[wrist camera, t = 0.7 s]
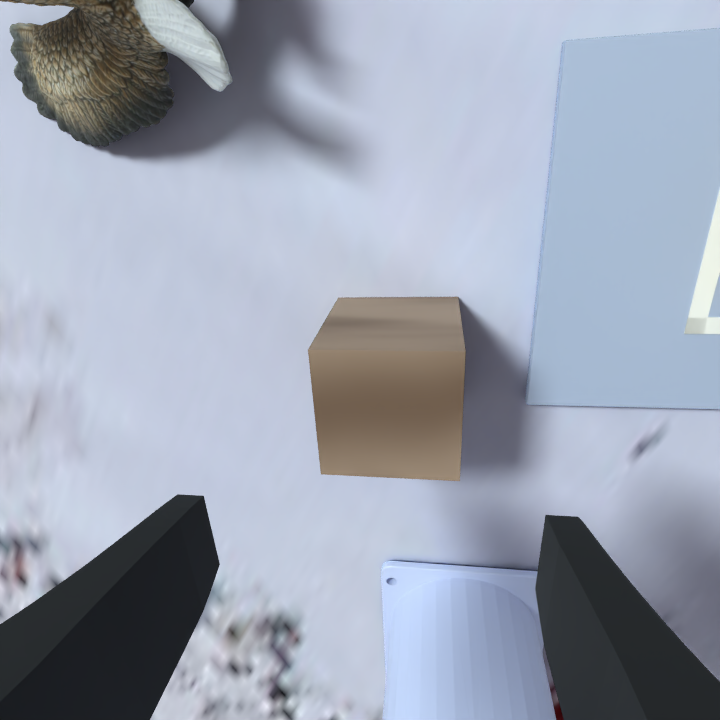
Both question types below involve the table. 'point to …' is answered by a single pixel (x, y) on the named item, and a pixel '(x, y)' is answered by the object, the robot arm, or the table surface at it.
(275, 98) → the table surface
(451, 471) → the walnut block
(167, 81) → the eagle figurine
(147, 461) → the table surface
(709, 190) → the board
